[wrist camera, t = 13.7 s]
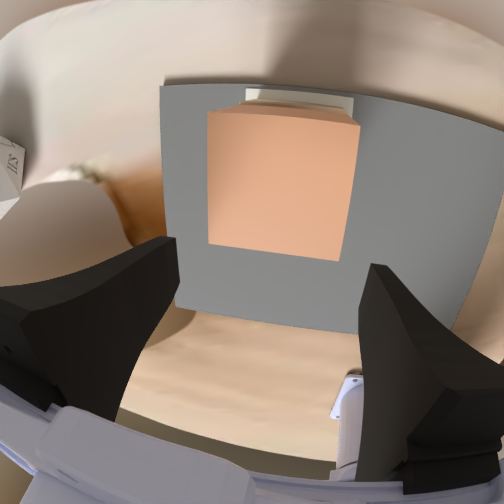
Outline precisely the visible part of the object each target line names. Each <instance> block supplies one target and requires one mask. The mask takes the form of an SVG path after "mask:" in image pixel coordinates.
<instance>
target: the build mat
mask: <svg viewBox="0 0 504 504" xmlns="http://www.w3.org/2000/svg"><path fill="white" fill-rule="evenodd" d="M252 99H273V100H286V101H297V102H307V103H316V104H324V105H332V106H339V107H342V108H344V109H345V110H346V111H347V112H348V115H349V116H350V117H351V118H352V119H353V120H355V121H356V122H357V123H358V124H359V125H360V135H359V143H358V151H357V158H356V165H355V172H354V179H353V185H352V192H351V198H350V204H349V210H348V216H347V221H346V227H345V232H344V237H343V243H342V248H341V253H340V258H339V261H332V260H325V259H317V258H310V257H303V256H295V255H288V254H281V253H273V252H266V251H259V250H251V249H244V248H237V247H229V246H222V245H215V244H209V241H208V191H207V117H208V112H211V111H215V110H219V109H223V108H227V107H231V106H235V105H239V102H241V101H246V100H252ZM160 132H161V156H162V174H163V190H164V203H165V215H166V227H167V237H175V238H176V244H177V255H178V265H179V275H180V284H179V286H178V289H177V291H176V294H175V296H174V297H175V304H176V307H180V308H185V309H191V310H195V311H201V312H206V313H212V314H217V315H223V316H229V317H234V318H240V319H246V320H253V321H259V322H265V323H272V324H279V325H285V326H293V327H300V328H307V329H315V330H323V331H331V332H339V333H348V334H357V335H359V334H358V308H359V304H360V301H361V297H362V294H363V290H364V286H365V283H366V279H367V275H368V271H369V268H370V264H371V263H374V264H382V265H387V266H388V267H389V268H390V269H391V270H392V271H393V272H394V273H395V274H396V276H397V277H398V278H399V279H400V280H401V281H402V283H403V284H404V285H405V286H406V287H407V288H408V289H409V291H410V292H411V293H412V294H413V295H414V296H415V297H416V298H417V299H418V301H419V302H420V303H421V304H422V305H423V306H424V307H425V308H426V309H427V310H428V311H429V312H430V313H431V314H432V315H433V316H434V317H435V318H436V319H437V320H438V321H439V322H441V323H442V324H443V325H444V326H445V327H446V328H447V329H449V330H451V328H452V326H453V324H454V322H455V320H456V318H457V316H458V314H459V312H460V309H461V307H462V305H463V303H464V301H465V299H466V296H467V294H468V292H469V290H470V287H471V285H472V283H473V280H474V278H475V275H476V273H477V270H478V268H479V265H480V263H481V260H482V257H483V255H484V252H485V249H486V247H487V244H488V241H489V238H490V235H491V232H492V229H493V226H494V223H495V219H496V216H497V213H498V209H499V206H500V202H501V199H502V195H503V191H504V132H503V131H500V130H497V129H495V128H492V127H489V126H486V125H483V124H480V123H477V122H474V121H471V120H468V119H465V118H461V117H458V116H455V115H451V114H448V113H444V112H441V111H437V110H433V109H429V108H425V107H421V106H417V105H413V104H408V103H404V102H399V101H394V100H389V99H384V98H379V97H373V96H368V95H362V94H355V93H349V92H342V91H334V90H326V89H317V88H308V87H297V86H283V85H266V84H184V85H167V86H160Z"/></svg>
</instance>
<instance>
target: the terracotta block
mask: <svg viewBox="0 0 504 504" xmlns="http://www.w3.org/2000/svg"><path fill="white" fill-rule="evenodd" d="M359 135H360V125H359V124H358V123H357V122H356V121H355V120H353V119H352V118H351V117H350V116H349V115H346V114H339V113H332V112H324V111H316V110H307V109H297V108H286V107H274V106H258V105H235V106H231V107H227V108H223V109H219V110H215V111H211V112H208V117H207V191H208V241H209V244H215V245H222V246H229V247H237V248H244V249H251V250H259V251H266V252H273V253H281V254H288V255H295V256H303V257H310V258H317V259H325V260H332V261H339V258H340V253H341V248H342V243H343V237H344V232H345V227H346V221H347V216H348V210H349V204H350V198H351V192H352V185H353V179H354V172H355V165H356V158H357V151H358V143H359Z"/></svg>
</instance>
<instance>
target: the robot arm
mask: <svg viewBox="0 0 504 504" xmlns="http://www.w3.org/2000/svg"><path fill="white" fill-rule="evenodd" d="M179 284H180V275H179V265H178V255H177V244H176V238H175V237H167V236H160V237H157V238H154V239H152V240H149V241H147V242H145V243H143V244H140V245H138V246H136V247H134V248H132V249H130V250H128V251H126V252H124V253H122V254H119V255H117V256H115V257H113V258H110V259H108V260H106V261H104V262H101V263H99V264H97V265H94V266H92V267H89V268H86V269H84V270H81V271H78V272H75V273H72V274H68V275H65V276H61V277H57V278H54V279H50V280H46V281H41V282H36V283H30V284H23V285H15V286H4V287H0V451H2V452H3V453H4V454H5V455H6V456H8V457H9V458H10V459H11V460H13V461H14V462H15V463H16V464H18V465H19V466H20V467H22V468H23V469H25V470H26V471H27V472H29V473H30V474H32V475H33V476H34V478H33V480H32V482H31V484H30V486H29V488H28V489H27V491H26V493H25V494H24V497H23V498H22V500H21V502H20V504H504V458H502V459H501V460H498V454H497V452H499V451H500V450H501V449H502V443H501V437H502V436H503V435H504V366H502V365H500V364H498V363H496V362H494V361H493V360H491V359H489V358H488V357H486V356H484V355H483V354H481V353H480V352H478V351H477V350H475V349H474V348H472V347H471V346H469V345H468V344H467V343H465V342H464V341H462V340H461V339H460V338H458V337H457V336H456V335H455V334H453V333H452V332H451V331H450V330H449V329H447V328H446V327H445V326H444V325H443V324H442V323H441V322H439V321H438V320H437V319H436V318H435V317H434V316H433V315H432V314H431V313H430V312H429V311H428V310H427V309H426V308H425V307H424V306H423V305H422V304H421V303H420V302H419V301H418V299H417V298H416V297H415V296H414V295H413V294H412V293H411V292H410V291H409V289H408V288H407V287H406V286H405V285H404V284H403V283H402V281H401V280H400V279H399V278H398V277H397V276H396V274H395V273H394V272H393V271H392V270H391V269H390V268H389V267H388V266H387V265H382V264H374V263H371V264H370V268H369V271H368V275H367V279H366V283H365V286H364V290H363V294H362V297H361V301H360V304H359V308H358V334H359V343H360V352H361V361H362V370H363V375H355V374H349V375H347V376H346V377H345V379H344V381H343V384H342V386H341V389H340V391H339V394H338V396H337V398H336V401H335V403H334V405H333V408H332V410H331V412H330V418H332V419H339V433H338V449H337V463H336V470H332V471H330V480H312V479H301V478H293V477H284V476H277V475H270V474H264V473H257V472H252V471H247V470H245V469H243V468H241V467H240V466H237V465H236V464H234V463H232V462H230V461H228V460H226V459H223V458H220V457H217V456H214V455H211V454H208V453H205V452H202V451H199V450H195V449H192V448H188V447H185V446H181V445H178V444H174V443H171V442H168V441H164V440H161V439H158V438H155V437H152V436H149V435H146V434H143V433H140V432H138V431H134V430H132V429H129V428H127V427H124V426H121V425H119V424H116V423H114V422H115V418H116V415H117V412H118V409H119V406H120V403H121V400H122V397H123V394H124V391H125V389H126V386H127V384H128V381H129V379H130V376H131V374H132V371H133V369H134V367H135V364H136V362H137V360H138V358H139V356H140V353H141V351H142V350H143V348H144V346H145V344H146V342H147V341H148V339H149V338H150V336H151V334H152V333H153V331H154V330H155V328H156V326H157V325H158V323H159V322H160V320H161V319H162V317H163V315H164V314H165V312H166V311H167V309H168V307H169V306H170V304H171V302H172V300H173V298H174V296H175V294H176V291H177V289H178V286H179Z"/></svg>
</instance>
